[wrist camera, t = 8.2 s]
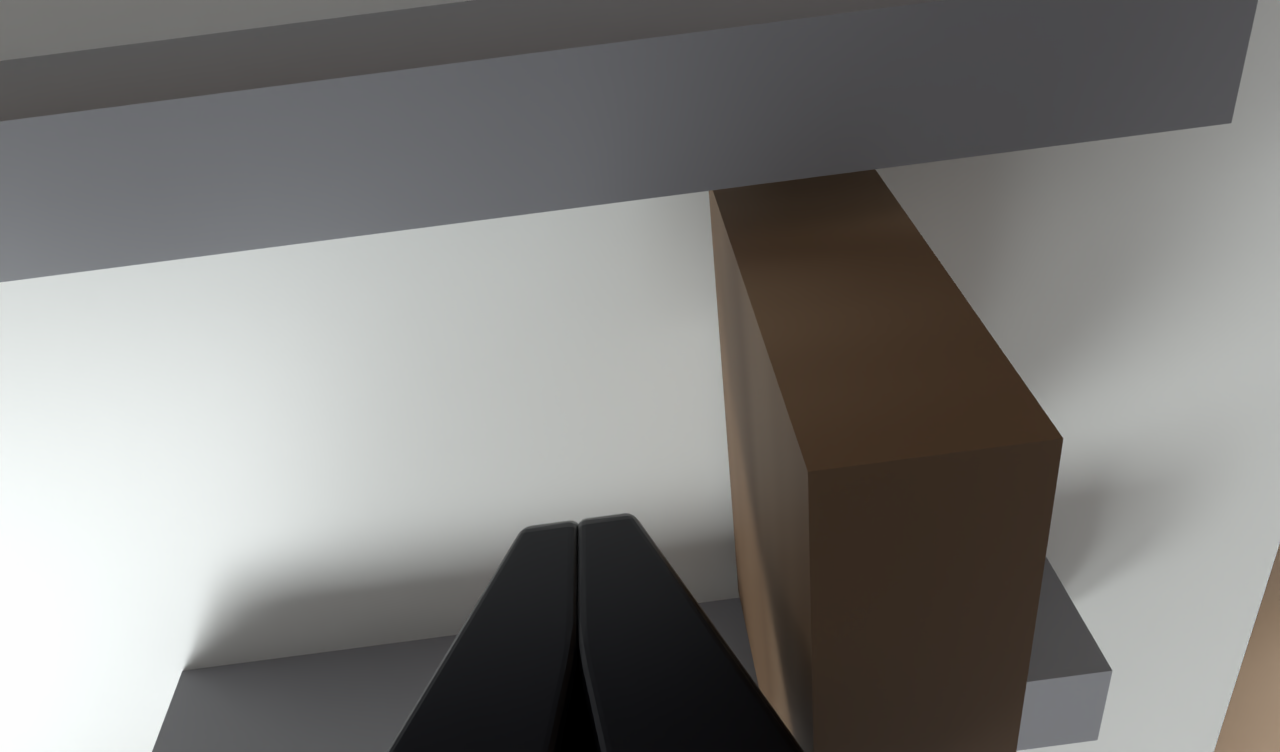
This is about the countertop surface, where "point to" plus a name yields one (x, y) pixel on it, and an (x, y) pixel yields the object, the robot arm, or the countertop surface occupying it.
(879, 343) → the paddle
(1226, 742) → the countertop surface
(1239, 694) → the countertop surface
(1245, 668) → the countertop surface
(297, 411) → the control panel
